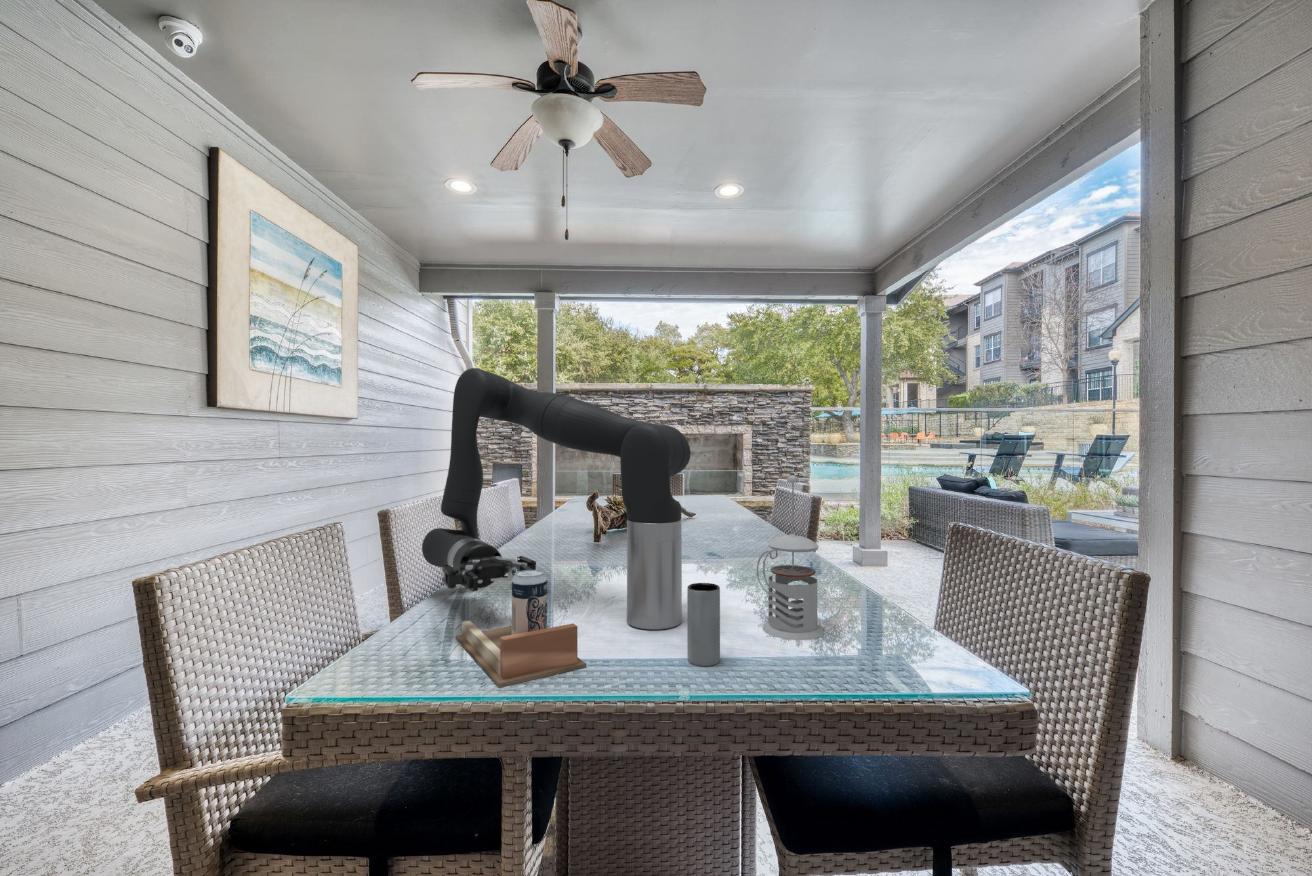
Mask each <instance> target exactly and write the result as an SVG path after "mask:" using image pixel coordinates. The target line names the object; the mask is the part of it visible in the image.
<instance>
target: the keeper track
mask: <svg viewBox="0 0 1312 876" xmlns="http://www.w3.org/2000/svg"><path fill="white" fill-rule="evenodd" d="M455 640H456V642H458V643H459V644H460V646H461V647H462V648H463V649H464V650H465V651H466V652H467V653H468V654H469V656H470V657H471V658H472V659H473V660H474V661H475V663H476V664H478V665H479V667H480V668H481V669H482V670H483V671H484V672H485V674H486V675H487V676H488V677H489V678H490V679H491V680H492V682H493V683H494V684H495V685H496V686H497V687H498V688H504V687H508V686H513V685H515V684H516V685H517V684H521V683H524V682H529V681H533V680H537V679H541V678H546V677H550V676H554V675H557V674H563V673H567V672H571V671H575V670H579V669H584V668H587V663H586V662H585V661H584V660H582V659H581V658H580V657H578V652H579V651H578V647H579V646H578V625H576V624H575V623H568V624H564V625H563V624H562V625H557V626H551V627H548V626H547V628H546V629H541V630H535V631H530V632H525V633H519V634H514V635H512V625H508V626H502V627H496V628H490V629H486V630H480V629H479V628H478V627H477V626H476V625H475V624H474V623H473V622H472V621H471V620H464V621H461V634H458V635H457V634H456V635H455Z"/></svg>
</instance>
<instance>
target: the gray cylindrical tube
mask: <svg viewBox="0 0 1312 876" xmlns="http://www.w3.org/2000/svg"><path fill="white" fill-rule="evenodd" d="M686 591H687V594H686V595H687V596H686V597H687V602H686V603H687V606H686V607H687V608H686V609H687V614H686V615H687V628H686V629H687V640H686V641H687V649H686V650H687V651H686V652H687V661H688V662H689V663H690V664H692V665H693V666H694V665H695V666H699V667H711V666H715V665H717V664H719V663H720V661H721V587H720V585H718V584H715V583H711V582H710V583H709V582H694V583H691V584H689V585H688V586H687V590H686Z"/></svg>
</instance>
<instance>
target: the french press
mask: <svg viewBox="0 0 1312 876" xmlns="http://www.w3.org/2000/svg"><path fill="white" fill-rule="evenodd" d="M786 482H787V483H789V484H792V485H791V489H792V491H791V493H792V494H791V495H792V496H791V499H792V500H791V505H792V508H791V509H792V511H791V514H792V515H791V516H792V519H791V521H792V524H791V526H792V530H791V531H792V533H790V534H786V535H783V536H778V537H775V538H773V539H772V540H770V541H769V542H767V546H768V547H769V548H770V549H772V550H769V549H768V550H766V551H764V552H762V554H760V556H759V558H758V560H757V564H756V576H757V580H758V584H759V586H760V587H761V588H762V590H763V591H764V592H765V593H766V594H767V596H768V621H766V622H765V623H764V624H763V625H762V629H761V630H762V631H763V632H765V633H766V634H768V635H770V636H772V637H775V638H780V639H784V640H793V641H808V640H809V641H810V640H814V639H819V638H821V637H822V636H824V635H825V631H823V630H824V629H823V628H822V627H821V625H819V624H818V579H817V578H816V577H814V575H816V573H817V572H816V570H815V568H812V567H811V566H804V565H798V564H795V565H794V562H795V560H794V559H795V558H794V556H795V555H794V553H810V552H816V551H818V549H819V547H820V546H819V544H817V543H816V542H815V541H814V540H811V539H810V538H808V537H805V536H802V535H801V536H800V535H797V534H795V533H794V531H795V529H794V521H795V520H794V518H795V517H794V516H795V515H794V514H795V513H794V511H795V510H794V506H795V505H794V503H795V502H794V501H795V498H794V496H795V495H794V494H795V493H794V487H795V485H794V484H797V483H798V484H799V482H800V481H799V477H797V476H796V475H793V474H792V475H789V476H788V477H787V479H786ZM774 551H775V556H774V557H772V552H774ZM778 551H779V552H789V553H792V554H791V557H792V559H791V564H780V565H774V566H772V567H771V568H770V572H771V573H772V574H774V575H775V578H774V579H775V581H773V575H771V576H768V581H767V578H766V573H765V569H766V568H765V566H766V565H765V564H766V560H767V557H768V556H769V557H770V559H771V560H775V559H776V558H778ZM765 554H766V555H765ZM764 555H765V557H764V559H763V564H762V565H763V566H762V574H763V577H764V580H765V585H767V587H768V591H767V590H766V589H765V587H764V586H763V585H762V584H761V580H760V575H759V564H760V561H761V559H762V557H763V556H764ZM800 581H801V582H803V583H807V584H790V583H793V582H800ZM773 599H775V600H773ZM789 599H792V600H791V601H789ZM774 606H775V607H774ZM773 614H775V616H773ZM823 634H824V635H823ZM818 637H819V638H818Z"/></svg>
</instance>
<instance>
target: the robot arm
mask: <svg viewBox="0 0 1312 876" xmlns="http://www.w3.org/2000/svg"><path fill="white" fill-rule="evenodd" d="M452 400H453V401H452V416H451V419H452V420H451V437H450V439H451V440H450V456H449V458H450V459H449V465H448V470H447V477H446V481H445V485H444V490H443V495H442V501H441V504H440V505H441V506H440V513H441V514H442V515H444V516H445V517H448V518H451V519H455V520H457V521H459V522H460V524H461V529H452V528H451V529H450V528H445V527H444V528H443V527H437V528H433V529H431V530H430V531H428V532H427V533H426V535H425V536H424V538H423V540H422V544H421V551H422V556H423V558H424V560H425V561H426V563H428V564H430V565H431V566H435V567H439V568H441V569H442V571H441V572H442V575H441V577H442V582H443V584H444V585H445V586H446V587H447V589H450V590H451V589H452V590H453V589H454V588H457V585H460V588H463V589H468V590H470V591H472V592H476V591H478V590H479V589H484V588H487V587H489V586H491V585H492V584H494V582H498V581H503V582H505V581H506V582H512V579H513V577H514V575H515V573H516V572H518V571H524V570H537V560H533V559H531V558H528V557H526V556H523V555H520V556H517V560H516V558H507V557H505V558H504V557H503V556H502V554H501V553H500V551H499V550H498V548H496V547H495V546H493V545H491V544H489V543H487V542H486V541H483V540H481V539H479V535H478V511H479V504H480V499H481V494H482V491H483V490H482V489H483V484H484V471H483V464H482V460H481V456H480V451H479V447H478V435H477V434H478V432H477V431H478V424H479V421H480V417H481V418H486V419H489V420H497V421H503V422H507V423H510V424H511V423H512V424H517V425H520V426H522V427H525V428H526V429H528V430H529V431H531V432H532V433H533V434H535V435H536V436H537V437H539V438H542V439H543V440H546V441H547V442H550V443H553V444H556V445H559V446H562V447H564V448H568V449H572V450H576V451H583V452H586V453H595V454H602V455H609V456H610V455H611V456H614V457H618V458H619V459H620V462H619V463H620V479H621V481H620V483H621V498H622V502H623V505H624V508H625V511H626V593H627V594H626V622H627V624H628V625H629V626H631V627H634V628H638V629H641V630H642V629H643V630H666V629H671V628H674V627H677V626H679V625H680V624H682V616H683V613H682V612H683V611H682V610H683V609H682V608H683V606H682V605H683V603H682V601H683V600H682V598H683V590H682V588H683V575H682V573H683V569H682V568H683V567H682V563H683V561H682V559H683V558H682V554H683V553H682V547H683V546H682V540H683V539H682V505H681V503H680V502H679V501H677V499H675V498H674V496H673V495H672V491H671V482H670V481H671V480H670V479H671V477H673V476H676V475H678V474H679V473H682V471H683V470H685V469H686V467H687V466H688V464H689V462H690V459H691V453H692V451H691V446H690V442H689V441H688V440H687V438H686V436H685V435H684V434H683V433H682V431H680V430H678V429H677V428H675V427H674V426H670V425H667V424H666V425H665V424H659V423H651V422H646V421H641V420H637V419H632V418H629V417H625V416H622V415H619V414H618V413H615V412H613V411H611V410H608V409H605V408H602V407H600V406H597V405H595V404H592V403H590V402H586V401H585V400H581V399H578V398H574V397H571V396H568V395H565V394H561V393H556V392H549V391H548V392H547V391H546V392H544V391H543V392H538V391H533V390H530V389H528V388H526V387H524V386H521V385H519V384H518V383H515V382H514V381H511V380H509V379H507V378H506V377H504V376H501V375H498V374H495V373H493V372H490V371H487V370H484V369H481V368H478V367H472V368H468V369H466V370H464V372H462V373H461V374H460V375H459V377H458V379H457V381H456V384H455V387H454V391H453V399H452Z"/></svg>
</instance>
